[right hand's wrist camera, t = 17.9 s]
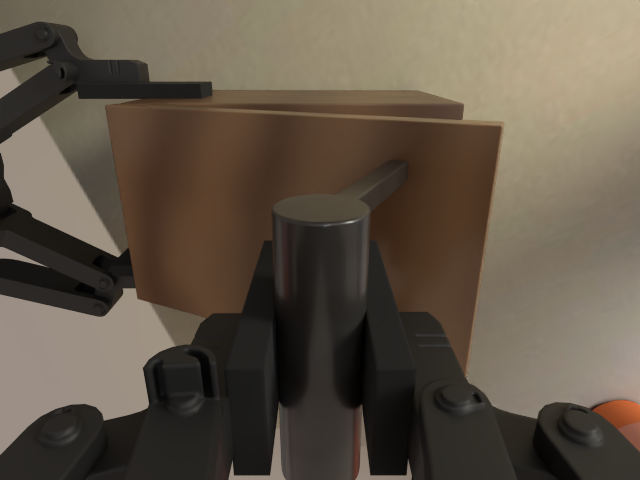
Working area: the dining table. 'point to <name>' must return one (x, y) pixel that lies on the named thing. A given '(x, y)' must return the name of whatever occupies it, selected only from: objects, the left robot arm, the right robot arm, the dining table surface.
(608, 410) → the cup with straw
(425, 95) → the chest
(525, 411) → the dining table surface
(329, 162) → the lid
